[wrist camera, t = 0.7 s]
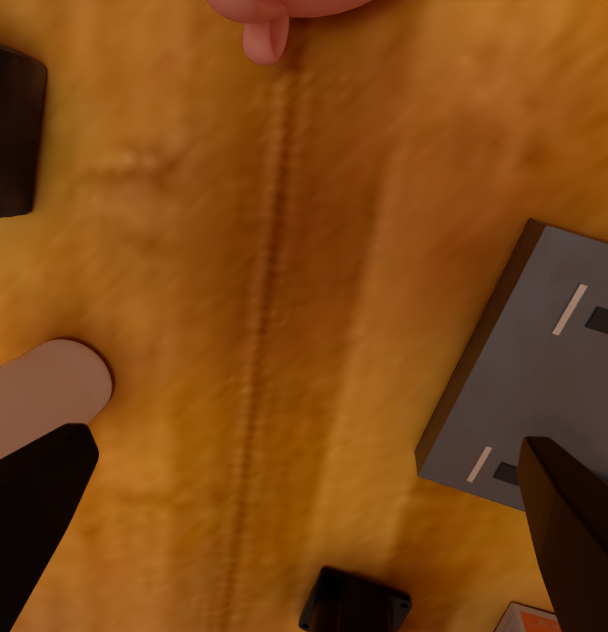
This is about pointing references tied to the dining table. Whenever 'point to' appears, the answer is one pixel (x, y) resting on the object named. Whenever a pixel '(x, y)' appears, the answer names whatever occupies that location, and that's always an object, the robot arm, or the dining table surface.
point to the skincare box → (527, 620)
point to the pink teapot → (274, 21)
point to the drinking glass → (50, 391)
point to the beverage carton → (19, 128)
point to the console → (528, 370)
